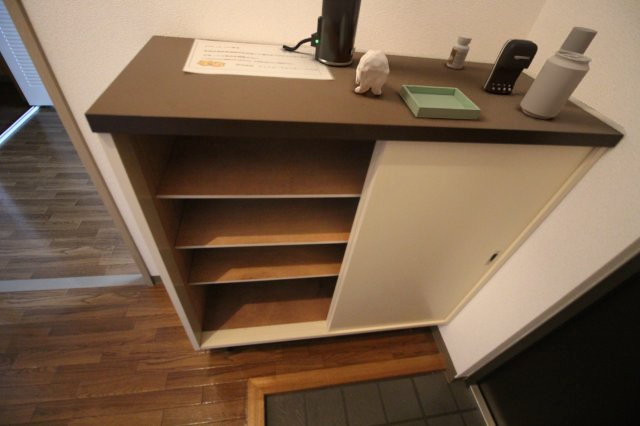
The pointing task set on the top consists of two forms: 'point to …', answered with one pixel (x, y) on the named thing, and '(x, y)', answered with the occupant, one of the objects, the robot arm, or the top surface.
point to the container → (578, 40)
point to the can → (555, 84)
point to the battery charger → (510, 65)
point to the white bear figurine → (372, 72)
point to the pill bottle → (459, 52)
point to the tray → (439, 102)
